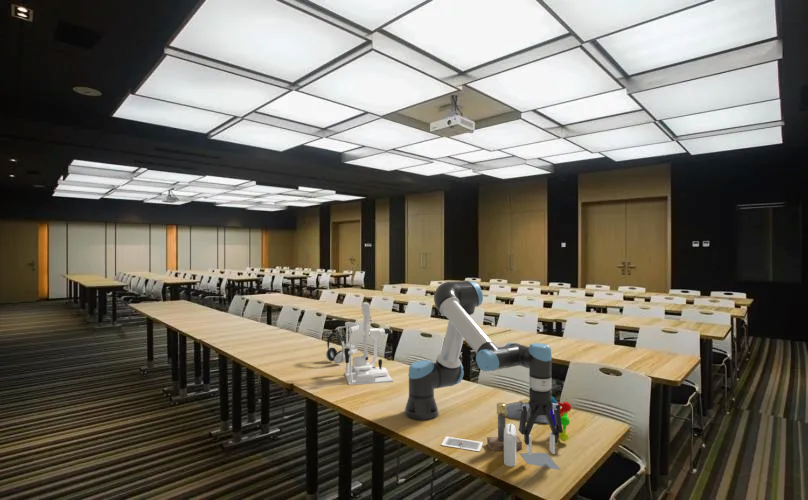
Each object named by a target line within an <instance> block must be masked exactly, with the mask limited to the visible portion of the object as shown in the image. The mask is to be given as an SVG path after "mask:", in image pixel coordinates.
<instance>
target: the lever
mask: <svg viewBox="0 0 808 500" xmlns="http://www.w3.org/2000/svg"><path fill="white" fill-rule="evenodd" d="M529 400H530V399H529V398H528V399H527V398H526V399H519V401H516V402H511V403H506V402H505V403H504V402H497V403H496V414H497V416H498V415H505V416H507V412H509V411H514V410H519V409H521V404H524V405H526V404H528V403H529Z"/></svg>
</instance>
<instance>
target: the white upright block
mask: <svg viewBox="0 0 808 500" xmlns="http://www.w3.org/2000/svg"><path fill="white" fill-rule="evenodd" d="M516 436H517V429H516V426H515V425H514V424H513V423H507V424H505V429H504V450H503V464H504V465H505V466H507V467H512V468H513V467H516V464H517V449H516Z"/></svg>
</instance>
